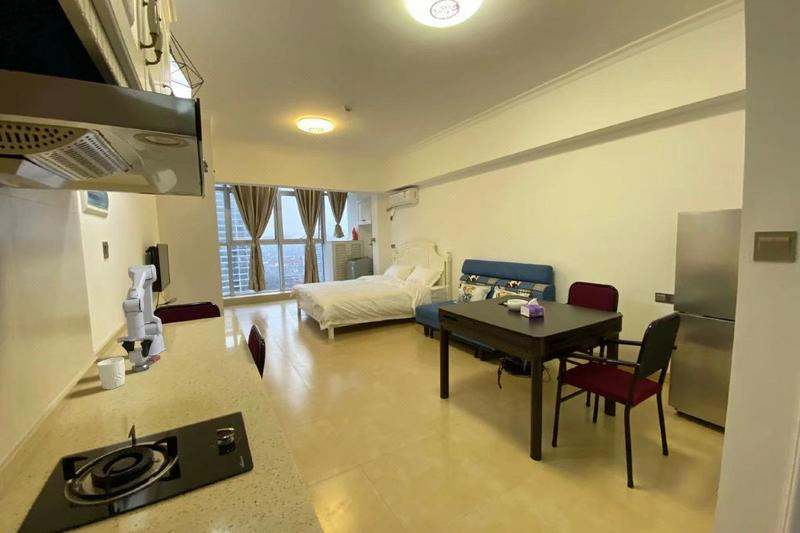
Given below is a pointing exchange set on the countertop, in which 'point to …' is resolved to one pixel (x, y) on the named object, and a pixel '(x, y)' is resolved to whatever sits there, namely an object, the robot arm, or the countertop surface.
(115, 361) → the white cup
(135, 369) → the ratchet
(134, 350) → the socket
